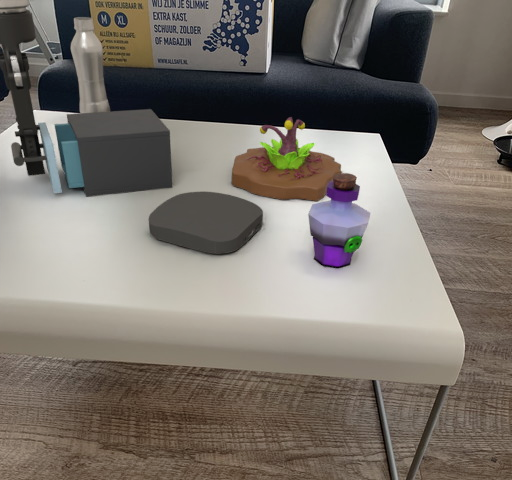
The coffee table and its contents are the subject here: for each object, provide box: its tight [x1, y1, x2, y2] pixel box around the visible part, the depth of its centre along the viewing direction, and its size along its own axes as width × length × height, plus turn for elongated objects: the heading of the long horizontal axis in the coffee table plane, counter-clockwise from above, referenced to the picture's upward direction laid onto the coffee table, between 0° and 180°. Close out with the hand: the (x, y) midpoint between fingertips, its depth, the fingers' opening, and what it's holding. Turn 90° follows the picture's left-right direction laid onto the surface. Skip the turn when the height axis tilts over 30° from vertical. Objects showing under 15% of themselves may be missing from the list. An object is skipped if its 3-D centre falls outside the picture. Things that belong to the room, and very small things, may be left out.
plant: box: [231, 116, 343, 202], centre depth 96 cm, size 20×20×11 cm
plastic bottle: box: [70, 16, 111, 114], centre depth 114 cm, size 6×7×20 cm
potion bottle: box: [307, 172, 371, 270], centre depth 73 cm, size 9×9×12 cm
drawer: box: [10, 121, 84, 194], centre depth 91 cm, size 18×11×8 cm, turn 112°
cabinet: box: [66, 108, 174, 197], centre depth 93 cm, size 15×13×10 cm
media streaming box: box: [148, 191, 264, 255], centre depth 82 cm, size 15×15×3 cm
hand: (36, 173), depth 90 cm, fingers closed
